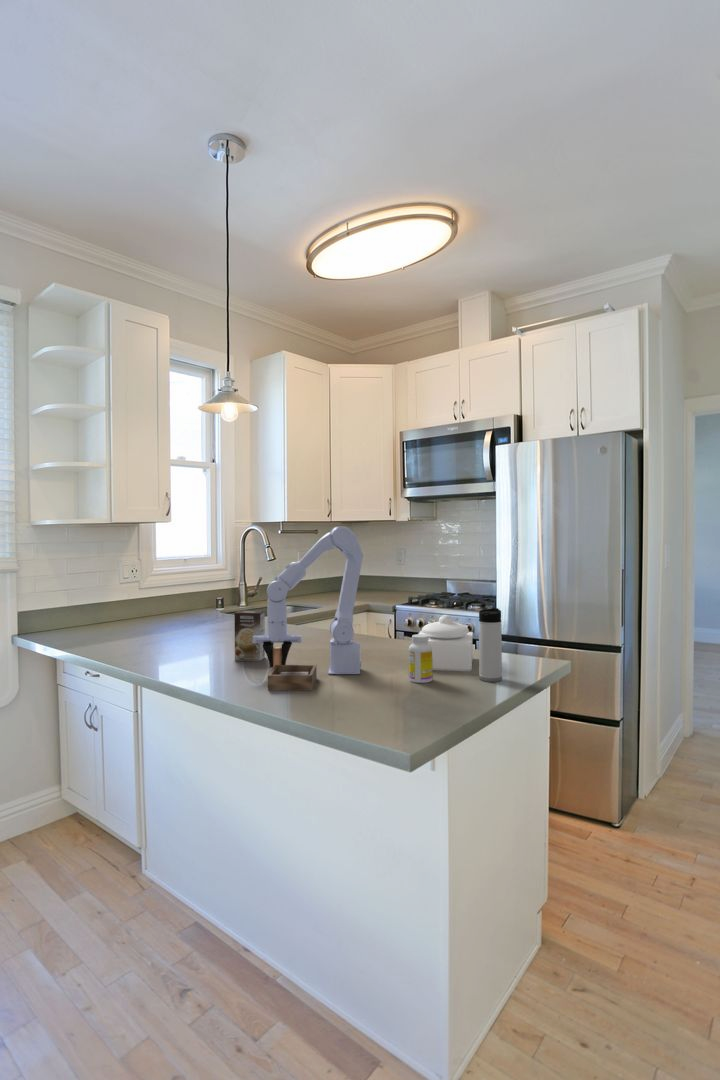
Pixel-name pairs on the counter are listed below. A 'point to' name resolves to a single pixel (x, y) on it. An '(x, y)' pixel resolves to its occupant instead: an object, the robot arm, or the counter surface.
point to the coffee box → (249, 635)
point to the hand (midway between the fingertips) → (277, 666)
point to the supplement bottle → (420, 659)
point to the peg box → (292, 677)
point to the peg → (277, 656)
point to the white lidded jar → (449, 644)
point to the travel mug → (490, 645)
